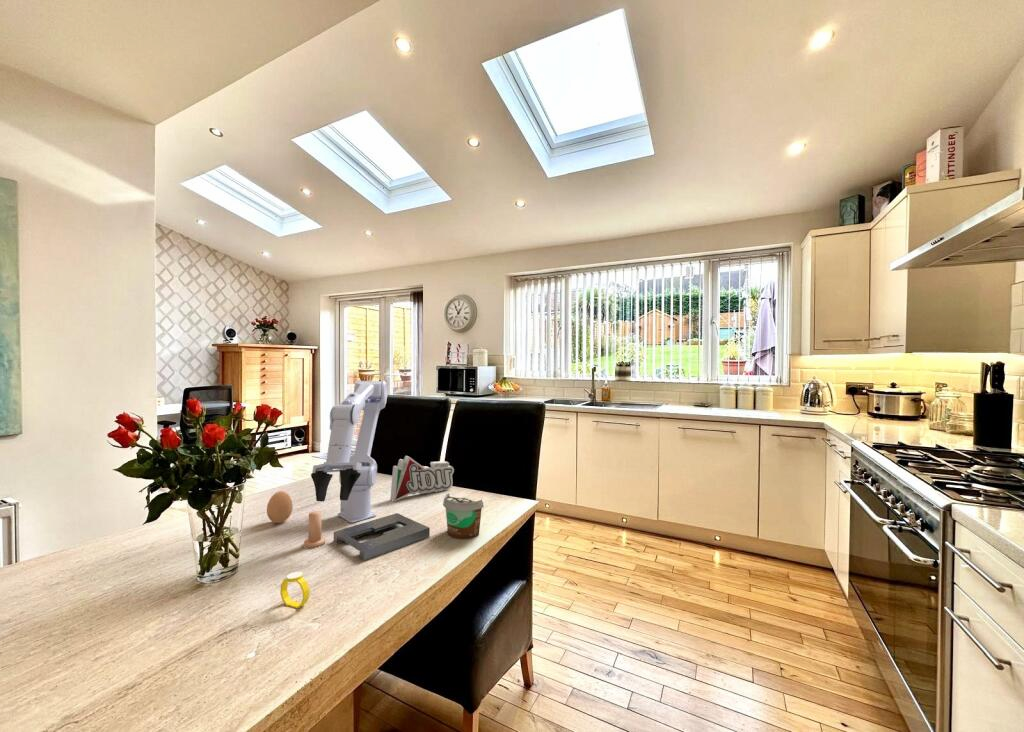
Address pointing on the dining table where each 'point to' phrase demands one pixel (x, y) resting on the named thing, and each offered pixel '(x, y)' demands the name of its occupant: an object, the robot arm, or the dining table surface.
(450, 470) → the decorative sign
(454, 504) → the food container
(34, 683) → the dining table surface
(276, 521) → the egg
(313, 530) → the peg
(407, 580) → the dining table surface
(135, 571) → the dining table surface
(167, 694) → the dining table surface
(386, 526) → the keyhole plate
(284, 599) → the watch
